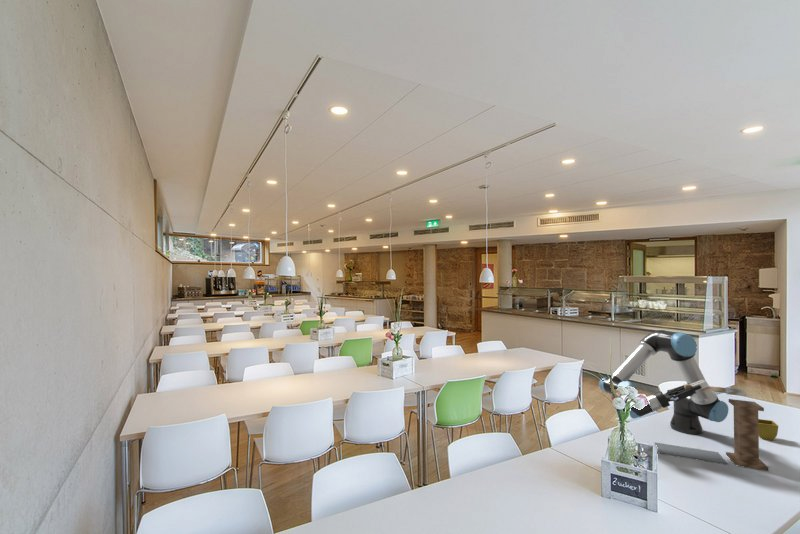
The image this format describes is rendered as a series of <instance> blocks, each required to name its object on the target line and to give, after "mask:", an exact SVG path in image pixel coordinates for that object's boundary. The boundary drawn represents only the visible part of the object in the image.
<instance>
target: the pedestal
mask: <svg viewBox="0 0 800 534" xmlns="http://www.w3.org/2000/svg"><path fill="white" fill-rule="evenodd" d="M728 403H729V404H731V405H732V406H733V452H730V451H729V452H728V451H725V456H726V455H727V456H728V457H729V458H730V459H729V458H728V457H727V456H726V457H727V458H728V459H729V460H730V462H731V463H732V464H735V465H738V466H737V467H741V466H744V467H743V468H747V467H750V468H749V469H754V468H755V469H754V470H761V471H767V472H769V467H768V466H767V464H765V463H764V462H763V461H762V459H760V446H759V445H760V441H759V440H760V439H759V438H760V437H759V426H758V419H759V412H764V411H765V407H763V406H762V405H760V404H759V403H757V402H755V401H749V400H741V399H732V398H728ZM735 465H734V466H735Z"/></svg>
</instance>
